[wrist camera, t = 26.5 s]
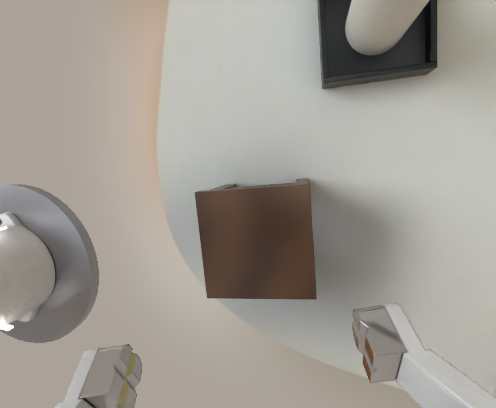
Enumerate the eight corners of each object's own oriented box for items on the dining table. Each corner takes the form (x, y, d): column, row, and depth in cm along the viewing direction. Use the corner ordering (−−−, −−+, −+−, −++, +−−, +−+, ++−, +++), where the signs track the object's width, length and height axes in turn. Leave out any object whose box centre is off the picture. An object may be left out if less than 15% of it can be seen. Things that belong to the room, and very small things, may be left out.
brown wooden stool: (232, 264, 40) (206, 298, 30) (223, 183, 38) (194, 192, 29) (315, 263, 38) (316, 299, 28) (309, 176, 36) (309, 183, 26)
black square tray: (322, 89, 34) (323, 83, 32) (316, -15, 33) (317, -29, 30) (427, 74, 32) (437, 67, 29) (426, -38, 30) (437, -56, 28)
